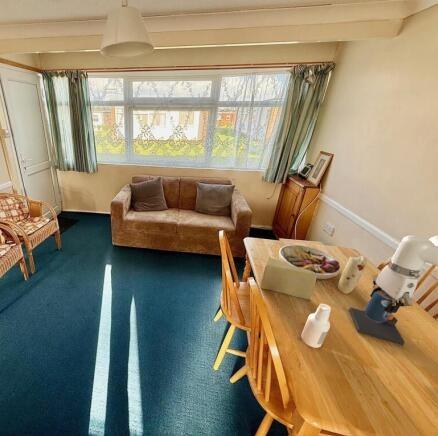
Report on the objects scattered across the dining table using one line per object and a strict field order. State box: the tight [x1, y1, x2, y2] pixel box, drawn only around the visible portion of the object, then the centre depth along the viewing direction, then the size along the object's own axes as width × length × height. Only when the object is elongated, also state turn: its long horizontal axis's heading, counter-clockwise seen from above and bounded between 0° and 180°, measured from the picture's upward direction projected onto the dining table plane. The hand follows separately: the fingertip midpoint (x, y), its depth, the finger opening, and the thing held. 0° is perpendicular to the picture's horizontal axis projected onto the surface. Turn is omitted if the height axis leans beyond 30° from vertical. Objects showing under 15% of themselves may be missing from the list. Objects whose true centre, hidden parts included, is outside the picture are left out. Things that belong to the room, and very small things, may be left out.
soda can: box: [364, 289, 398, 323], centre depth 91 cm, size 7×7×12 cm
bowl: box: [278, 244, 341, 280], centre depth 134 cm, size 30×30×8 cm
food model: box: [337, 254, 367, 295], centre depth 112 cm, size 10×7×20 cm
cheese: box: [259, 256, 317, 300], centre depth 113 cm, size 22×10×15 cm, turn 58°
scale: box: [348, 306, 406, 346], centre depth 96 cm, size 15×14×4 cm
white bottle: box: [300, 303, 332, 349], centre depth 87 cm, size 7×7×18 cm
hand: (382, 304), depth 90 cm, fingers closed on soda can, 7 cm apart
